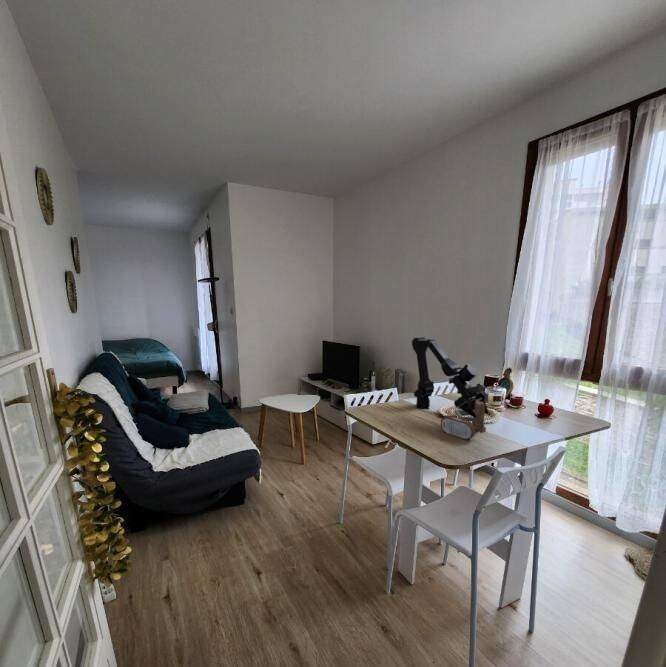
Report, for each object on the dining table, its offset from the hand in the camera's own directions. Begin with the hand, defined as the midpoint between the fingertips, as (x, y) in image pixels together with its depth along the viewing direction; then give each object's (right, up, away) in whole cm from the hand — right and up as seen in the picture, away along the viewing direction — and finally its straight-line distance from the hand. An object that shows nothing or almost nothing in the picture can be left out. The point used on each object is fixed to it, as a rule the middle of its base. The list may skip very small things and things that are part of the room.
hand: (481, 415), depth 148 cm
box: (0, -6, +14) cm, 15 cm away
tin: (-14, -8, -6) cm, 17 cm away
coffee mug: (+9, -4, +28) cm, 30 cm away
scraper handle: (-1, -7, +2) cm, 7 cm away
